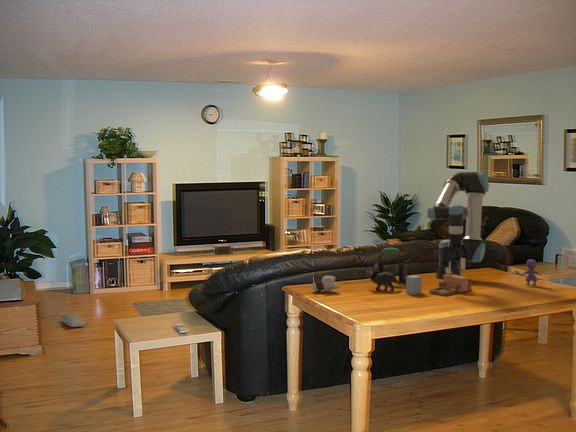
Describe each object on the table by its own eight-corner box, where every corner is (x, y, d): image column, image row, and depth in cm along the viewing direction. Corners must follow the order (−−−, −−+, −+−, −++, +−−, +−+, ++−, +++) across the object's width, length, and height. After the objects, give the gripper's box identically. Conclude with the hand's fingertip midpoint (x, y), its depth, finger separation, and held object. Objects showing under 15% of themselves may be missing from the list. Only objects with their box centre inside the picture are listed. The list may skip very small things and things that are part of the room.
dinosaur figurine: (405, 289, 367) (405, 269, 366) (402, 292, 359) (402, 272, 358) (366, 287, 374) (366, 267, 373) (363, 290, 366) (363, 270, 365)
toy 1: (314, 301, 358) (341, 295, 359) (312, 288, 354) (339, 281, 354) (310, 288, 369) (336, 282, 370) (307, 275, 365) (333, 269, 366)
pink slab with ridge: (443, 287, 368) (443, 271, 368) (449, 286, 371) (449, 270, 370) (461, 291, 356) (461, 274, 356) (468, 290, 359) (468, 274, 358)
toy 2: (546, 284, 378) (546, 258, 376) (549, 286, 372) (549, 260, 371) (513, 284, 380) (513, 258, 378) (515, 286, 374) (516, 260, 373)
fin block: (406, 293, 358) (406, 276, 357) (414, 291, 362) (414, 275, 361) (413, 294, 354) (413, 278, 353) (421, 292, 358) (421, 276, 358)
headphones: (407, 280, 395) (407, 247, 393) (407, 283, 384) (407, 249, 382) (375, 279, 398) (375, 246, 396) (374, 282, 387) (374, 249, 386)
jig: (426, 292, 359) (426, 284, 358) (450, 287, 373) (450, 279, 372) (447, 296, 348) (447, 288, 348) (471, 290, 362) (471, 282, 362)
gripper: (447, 236, 350) (447, 275, 353) (474, 231, 366) (474, 268, 369) (436, 235, 356) (436, 273, 358) (463, 230, 372) (463, 267, 374)
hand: (455, 271), depth 364 cm, fingers open, 13 cm apart
